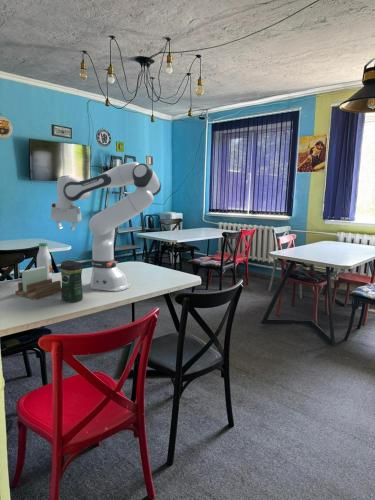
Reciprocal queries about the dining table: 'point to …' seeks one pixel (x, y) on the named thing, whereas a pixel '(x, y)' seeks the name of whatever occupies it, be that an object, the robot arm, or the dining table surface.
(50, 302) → the dining table surface
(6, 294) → the dining table surface
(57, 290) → the rack
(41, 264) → the milk bottle
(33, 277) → the tall mint green block
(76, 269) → the coffee jar
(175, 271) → the dining table surface
